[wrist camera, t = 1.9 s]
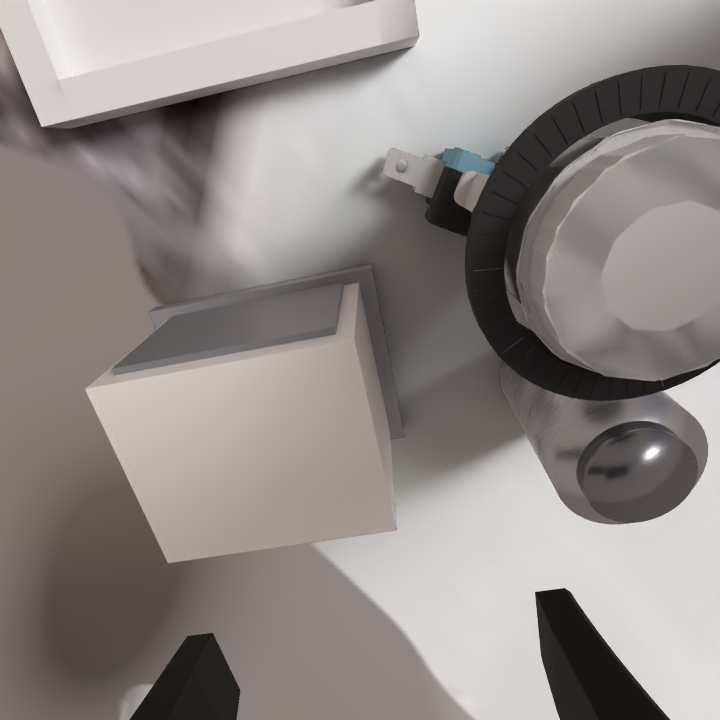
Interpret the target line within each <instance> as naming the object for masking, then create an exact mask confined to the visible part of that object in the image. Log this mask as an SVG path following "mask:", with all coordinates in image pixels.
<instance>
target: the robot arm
mask: <svg viewBox="0 0 720 720" xmlns="http://www.w3.org/2000/svg"><path fill="white" fill-rule="evenodd" d="M535 596H536V606H537V617H538V627H539V638H540V649H541V657H542V661H543V664H544V668H545V671H546V675H547V678H548V682H549V685H550V689H551V692H552V695H553V699H554V702H555V706H556V709H557V712H558V715H559V718H560V720H670V719H669V718H668V717H667V716H666V714H665V713H664V712H663V711H662V710H661V709H660V708H659V706H658V705H657V704H656V703H655V702H654V701H653V699H652V698H651V697H650V696H649V695H648V693H647V692H646V691H645V690H644V689H643V687H642V686H641V685H640V684H639V683H638V681H637V680H636V679H635V678H634V677H633V676H632V674H631V673H630V672H629V671H628V670H627V668H626V667H625V666H624V665H623V663H622V662H621V661H620V660H619V658H618V657H617V656H616V655H615V653H614V652H613V651H612V649H611V648H610V647H609V646H608V644H607V643H606V642H605V640H604V639H603V638H602V636H601V635H600V634H599V632H598V631H597V630H596V628H595V627H594V626H593V624H592V623H591V622H590V620H589V619H588V617H587V616H586V615H585V613H584V612H583V610H582V609H581V607H580V606H579V604H578V603H577V601H576V600H575V598H574V597H573V595H572V594H571V592H570V591H568V590H567V589H565V588H563V589H555V590H547V591H540V592H535ZM239 696H240V689H239V687H238V685H237V683H236V681H235V678H234V676H233V674H232V672H231V670H230V668H229V666H228V664H227V662H226V660H225V657H224V655H223V654H222V651H221V649H220V647H219V645H218V643H217V641H216V639H215V637H214V635H213V633H209V634H201V635H193V636H188V637H187V638H186V639H185V640H184V642H183V643H182V645H181V646H180V648H179V649H178V650H177V652H176V653H175V655H174V656H173V658H172V659H171V661H170V662H169V663H168V665H167V666H166V668H165V669H164V671H163V672H162V674H161V675H160V677H159V678H158V680H157V681H156V682H155V684H154V685H153V687H152V688H151V690H150V691H149V693H148V694H147V696H146V697H145V698H144V700H143V701H142V703H141V704H140V706H139V707H138V709H137V710H136V711H135V713H134V714H133V716H132V717H131V718H130V720H236V719H237V711H238V703H239Z"/></svg>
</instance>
